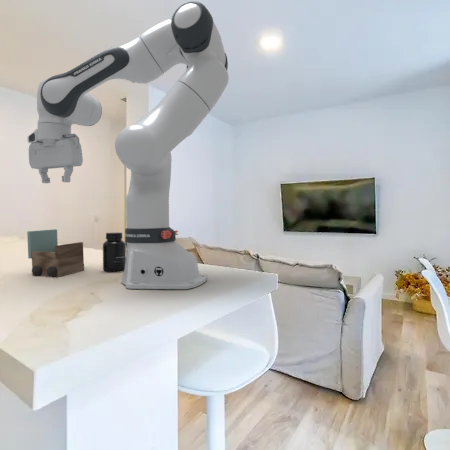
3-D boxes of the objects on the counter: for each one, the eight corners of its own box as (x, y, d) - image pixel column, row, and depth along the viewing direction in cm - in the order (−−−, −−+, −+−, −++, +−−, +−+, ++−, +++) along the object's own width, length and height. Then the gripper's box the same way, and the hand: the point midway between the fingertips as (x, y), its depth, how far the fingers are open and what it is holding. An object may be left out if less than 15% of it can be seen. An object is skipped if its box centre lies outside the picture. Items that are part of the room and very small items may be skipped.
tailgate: (57, 253, 101) (57, 229, 101) (31, 258, 92) (29, 231, 91) (54, 253, 102) (53, 229, 101) (26, 258, 92) (25, 231, 92)
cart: (85, 269, 99) (84, 241, 99) (56, 277, 88) (55, 246, 88) (61, 268, 102) (60, 241, 102) (30, 275, 91) (28, 245, 90)
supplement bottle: (121, 272, 94) (120, 233, 94) (99, 272, 94) (98, 233, 94) (129, 268, 101) (128, 231, 100) (108, 268, 101) (107, 232, 101)
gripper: (87, 135, 91) (88, 182, 92) (43, 141, 100) (44, 184, 101) (68, 130, 86) (69, 180, 86) (23, 137, 95) (25, 183, 95)
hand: (55, 182), depth 94 cm, fingers open, 8 cm apart
